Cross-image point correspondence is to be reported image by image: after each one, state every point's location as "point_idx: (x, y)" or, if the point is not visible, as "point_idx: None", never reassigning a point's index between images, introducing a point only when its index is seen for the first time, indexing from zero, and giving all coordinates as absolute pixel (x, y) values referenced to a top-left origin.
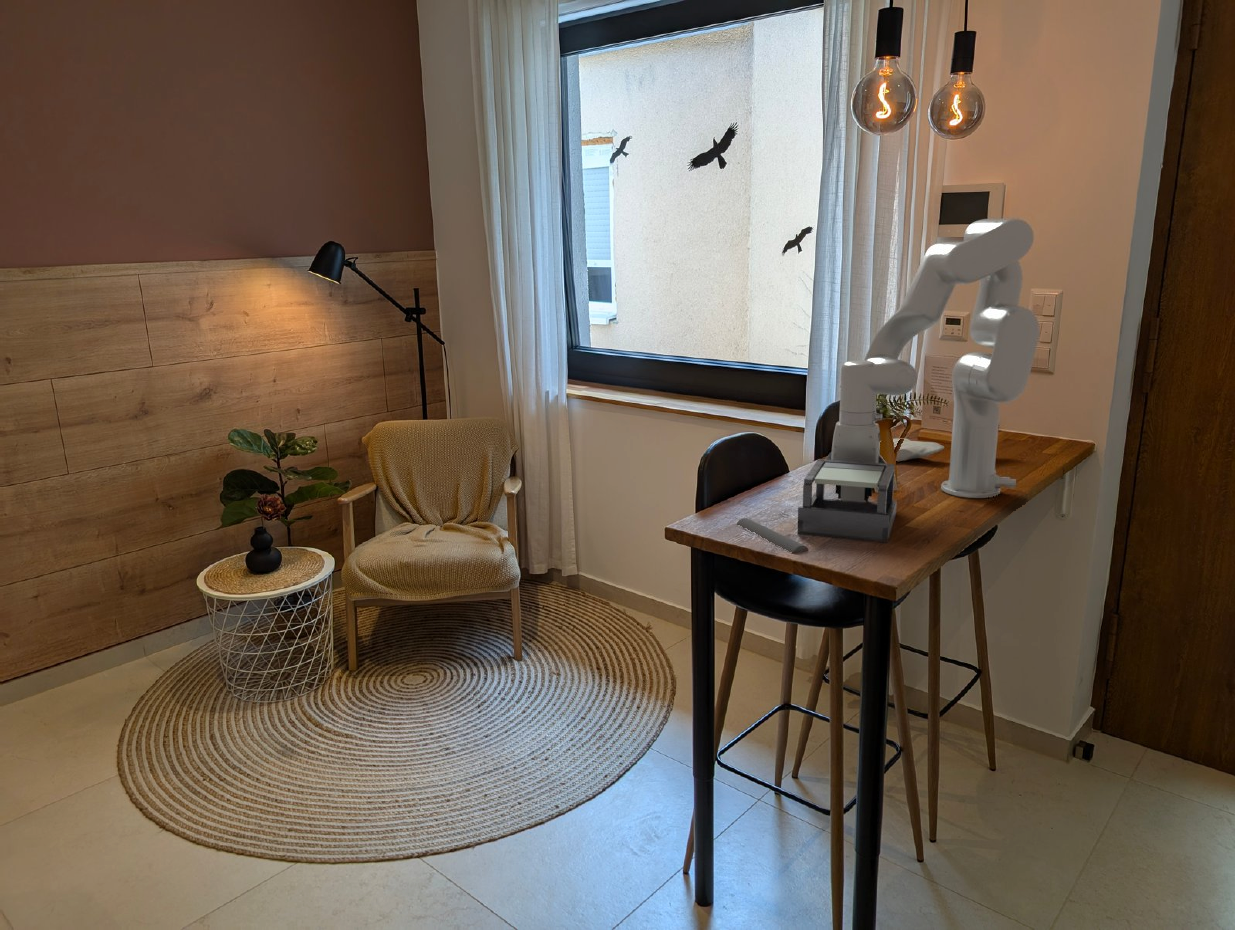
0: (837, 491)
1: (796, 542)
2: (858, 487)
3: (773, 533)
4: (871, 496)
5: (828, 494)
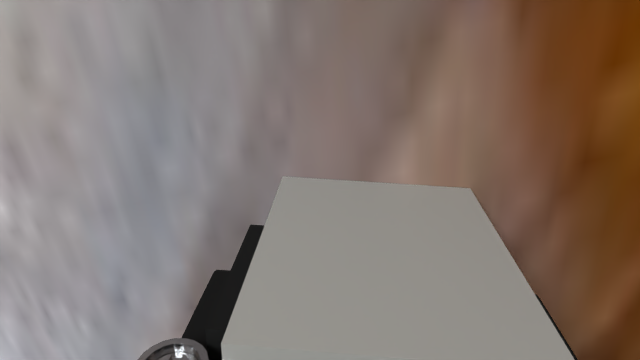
0: None
1: None
2: None
3: None
4: None
5: (145, 114)
